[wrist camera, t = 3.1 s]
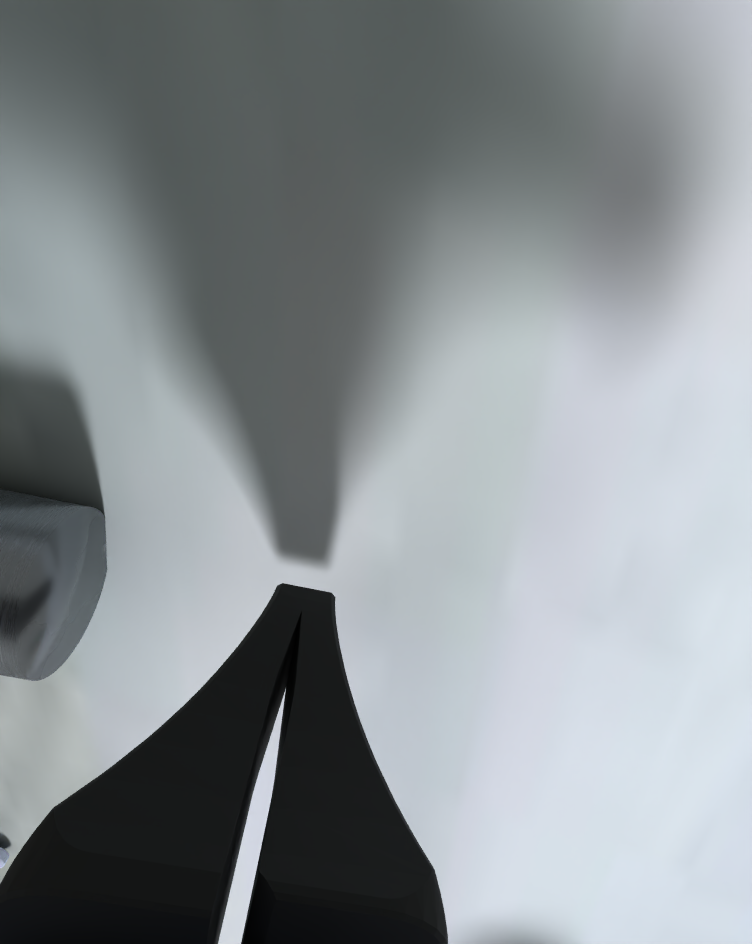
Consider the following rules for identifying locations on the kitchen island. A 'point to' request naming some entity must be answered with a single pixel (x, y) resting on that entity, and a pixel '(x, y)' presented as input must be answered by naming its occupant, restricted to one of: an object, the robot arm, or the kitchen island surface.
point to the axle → (46, 580)
